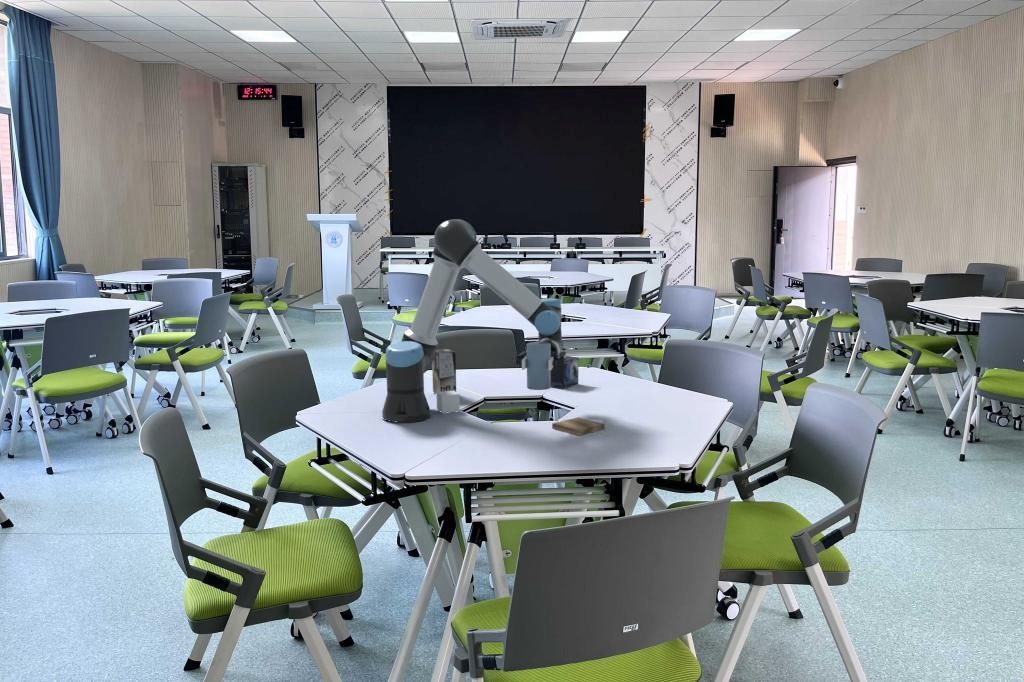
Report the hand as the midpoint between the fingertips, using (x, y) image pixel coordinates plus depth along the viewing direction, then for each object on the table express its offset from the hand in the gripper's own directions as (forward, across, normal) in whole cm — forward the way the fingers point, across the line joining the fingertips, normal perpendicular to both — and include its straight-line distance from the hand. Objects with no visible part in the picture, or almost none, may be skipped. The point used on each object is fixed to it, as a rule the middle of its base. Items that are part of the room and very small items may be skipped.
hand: (536, 365), depth 232 cm
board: (-8, -11, -21) cm, 25 cm away
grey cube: (-26, +33, -21) cm, 47 cm away
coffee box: (-49, +40, -21) cm, 66 cm away
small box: (-69, -1, -21) cm, 72 cm away
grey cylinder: (-5, 0, -8) cm, 9 cm away
